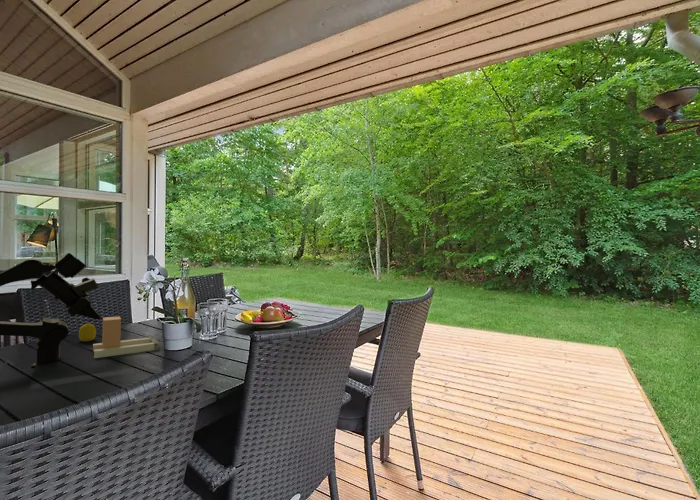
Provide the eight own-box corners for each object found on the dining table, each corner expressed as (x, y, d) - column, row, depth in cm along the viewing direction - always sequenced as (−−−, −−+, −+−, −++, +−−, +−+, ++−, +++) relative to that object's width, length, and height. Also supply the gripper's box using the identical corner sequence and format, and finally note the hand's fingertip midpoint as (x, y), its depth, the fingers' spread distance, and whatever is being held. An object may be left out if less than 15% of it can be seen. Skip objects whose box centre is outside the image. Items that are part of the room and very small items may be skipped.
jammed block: (102, 355, 124) (103, 320, 123) (102, 351, 128) (102, 317, 127) (120, 352, 127) (121, 319, 126) (118, 348, 131) (119, 316, 130)
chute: (94, 361, 120) (94, 351, 120) (92, 353, 128) (93, 344, 128) (158, 352, 132) (158, 343, 132) (153, 345, 140) (153, 336, 140)
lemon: (88, 345, 136) (89, 324, 136) (74, 345, 137) (75, 324, 136) (99, 341, 142) (99, 321, 142) (85, 340, 142) (86, 320, 142)
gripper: (82, 273, 113) (122, 305, 121) (81, 268, 128) (116, 297, 135) (49, 299, 109) (92, 331, 116) (52, 291, 124) (90, 319, 131)
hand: (99, 318), depth 125 cm, fingers closed
